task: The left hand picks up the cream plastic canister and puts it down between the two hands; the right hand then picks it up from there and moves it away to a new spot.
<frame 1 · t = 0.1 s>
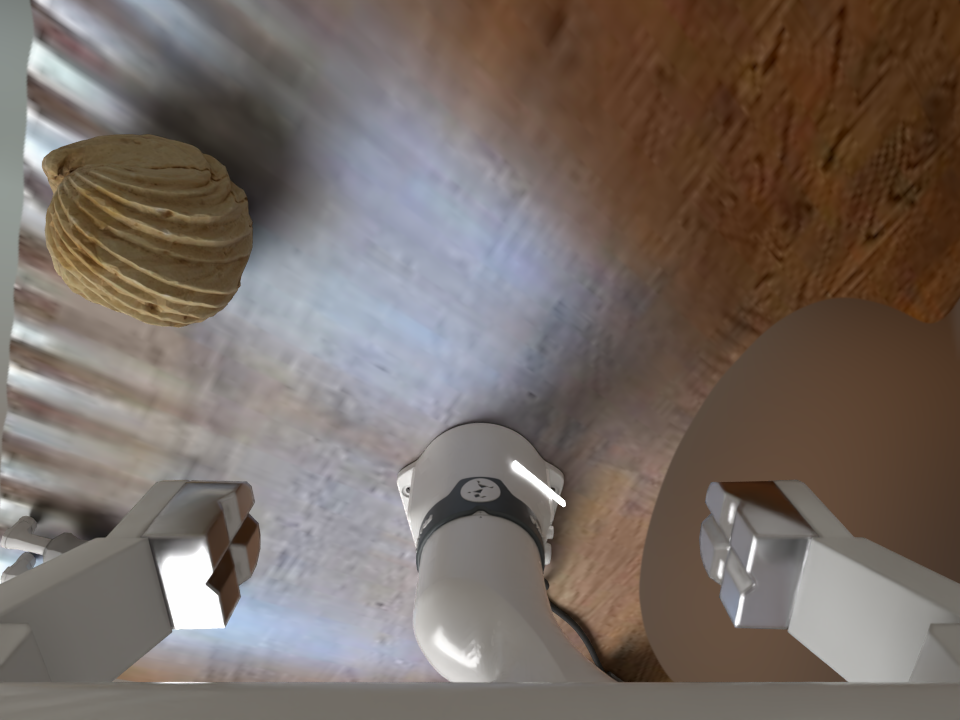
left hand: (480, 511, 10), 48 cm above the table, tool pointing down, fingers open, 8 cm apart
figurine: (134, 561, 71), on the table
fossil: (186, 218, 56), on the table
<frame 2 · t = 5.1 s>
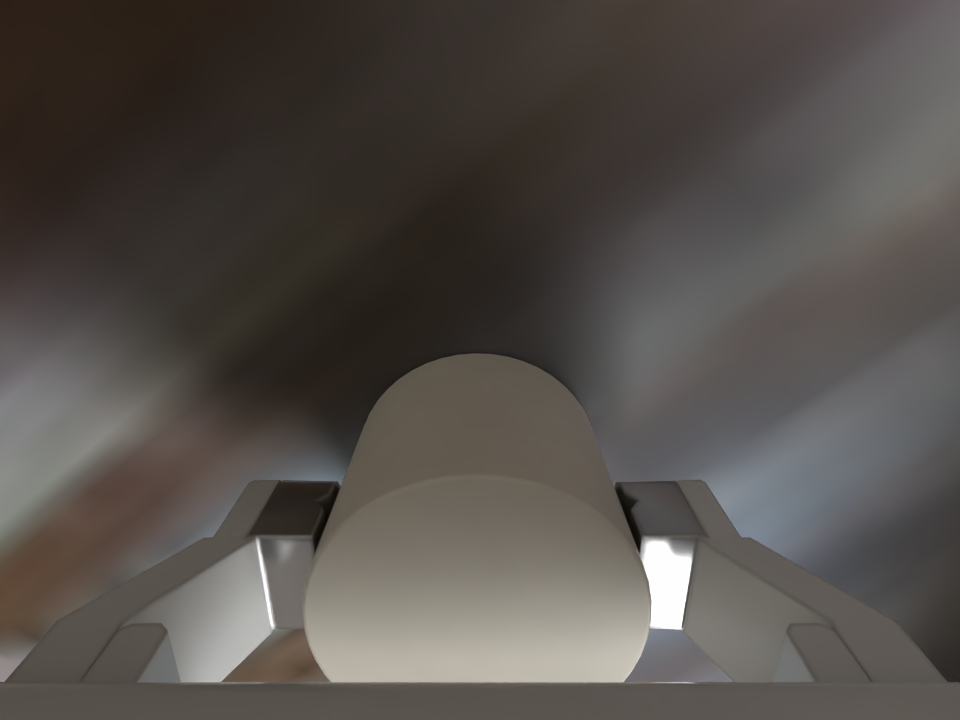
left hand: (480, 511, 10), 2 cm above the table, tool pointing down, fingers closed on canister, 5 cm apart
canister: (477, 461, 12), on the table, touching left hand
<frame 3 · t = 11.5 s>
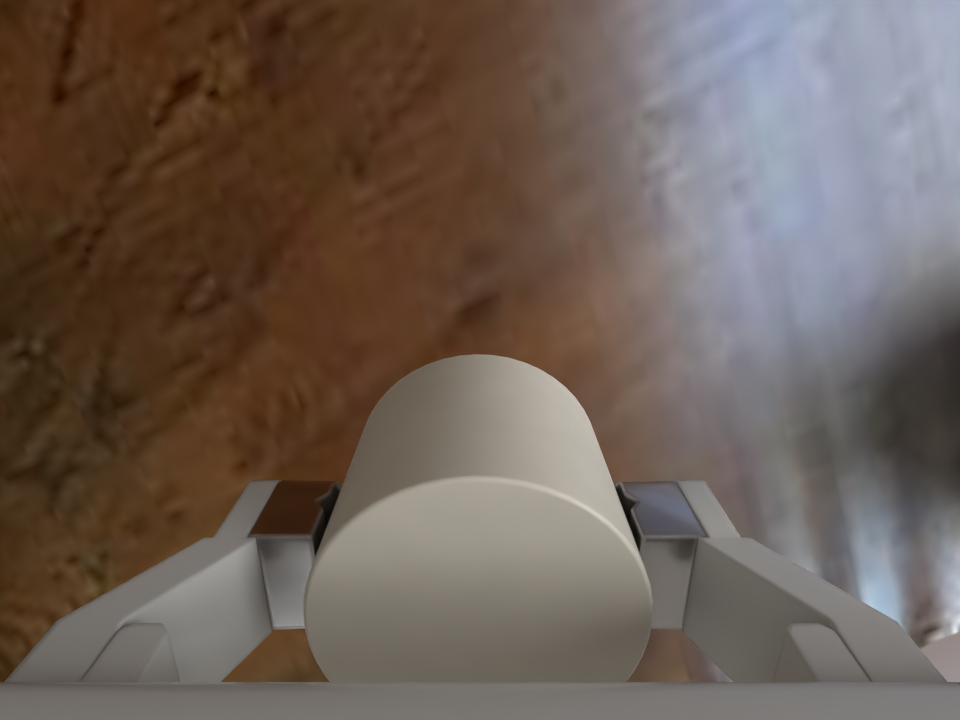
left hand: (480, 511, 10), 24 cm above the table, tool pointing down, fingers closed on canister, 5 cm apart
canister: (478, 463, 12), point 22 cm above the table, touching left hand
when the left hand's fingers open (3 cm above the table, at t = 18.1 s): canister drops 1 cm, on the table.
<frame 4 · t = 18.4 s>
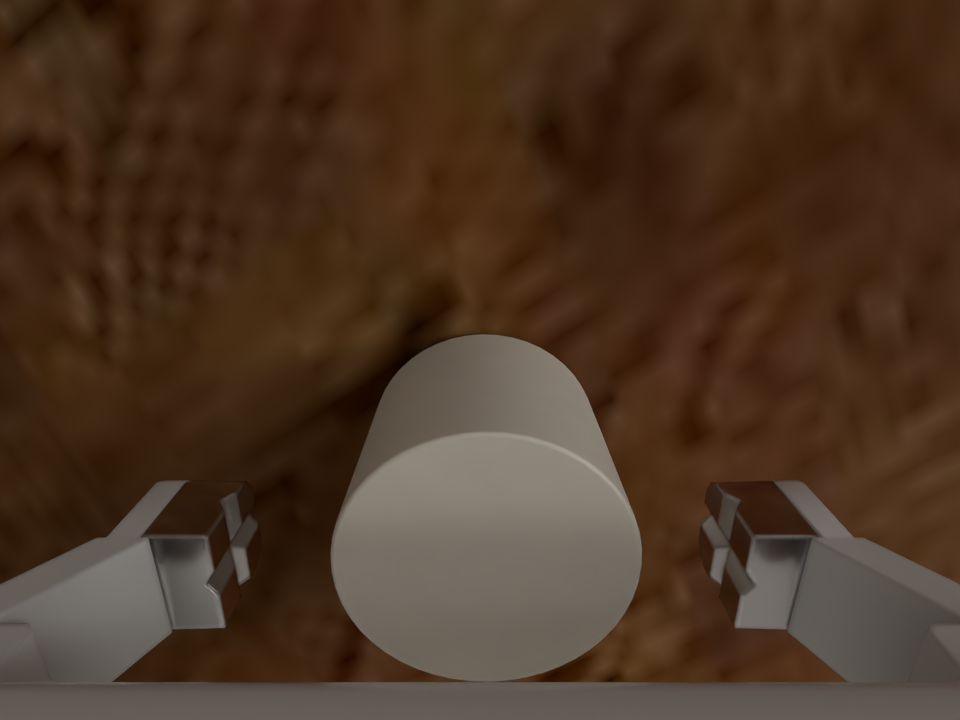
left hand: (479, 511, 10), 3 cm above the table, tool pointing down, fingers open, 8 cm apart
canister: (484, 436, 13), on the table
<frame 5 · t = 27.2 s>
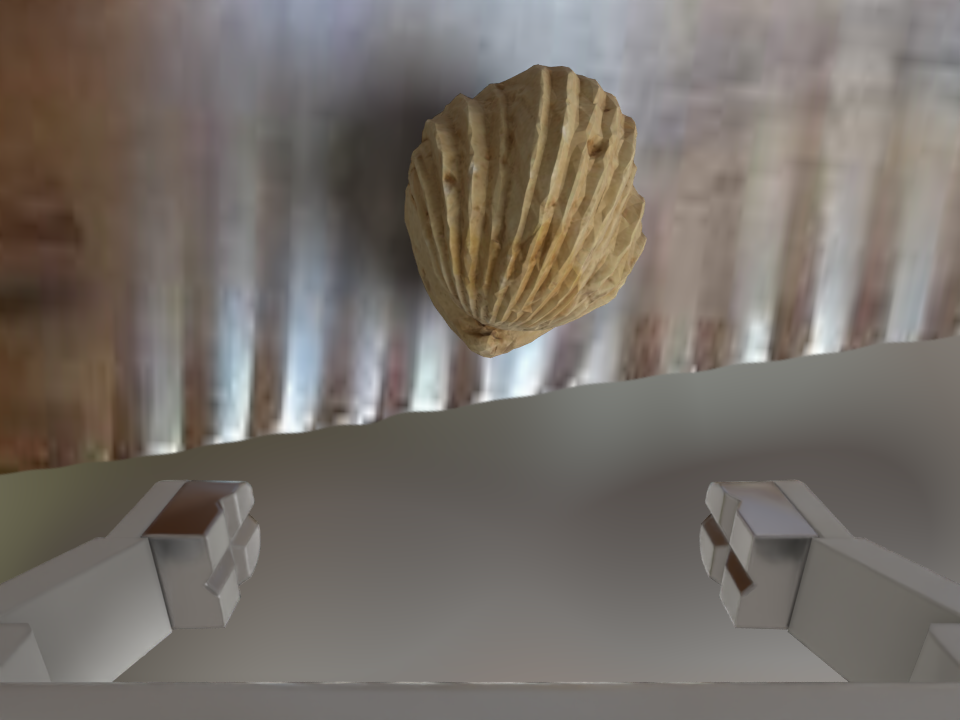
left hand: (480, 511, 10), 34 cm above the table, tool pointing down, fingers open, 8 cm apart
fossil: (513, 207, 42), on the table
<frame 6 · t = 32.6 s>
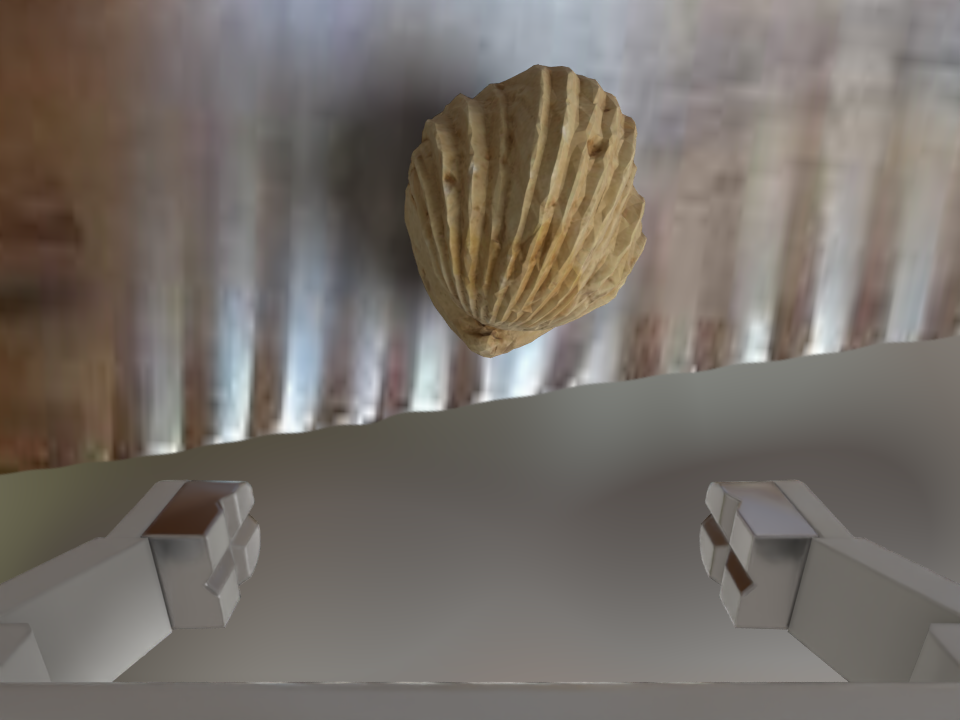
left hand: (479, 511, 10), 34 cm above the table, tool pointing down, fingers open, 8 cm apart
fossil: (513, 207, 42), on the table
when the right hand's fingers open (1 cm above the table, at t = 38.0 s): canister stays where it is, on the table.
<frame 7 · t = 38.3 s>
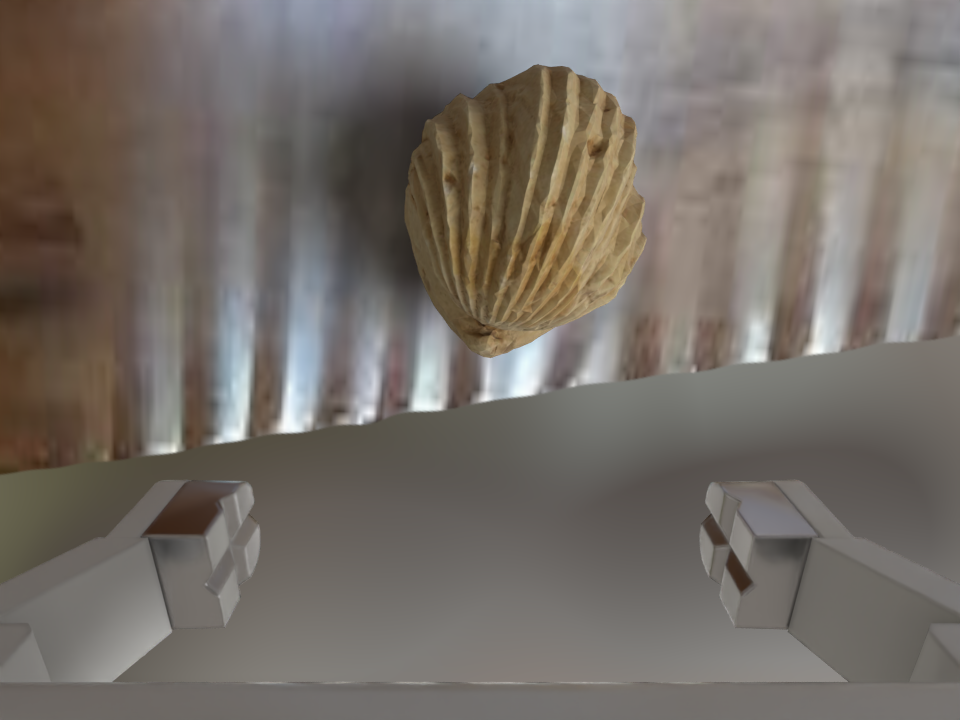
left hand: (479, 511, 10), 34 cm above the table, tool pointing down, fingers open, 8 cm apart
fossil: (513, 207, 42), on the table
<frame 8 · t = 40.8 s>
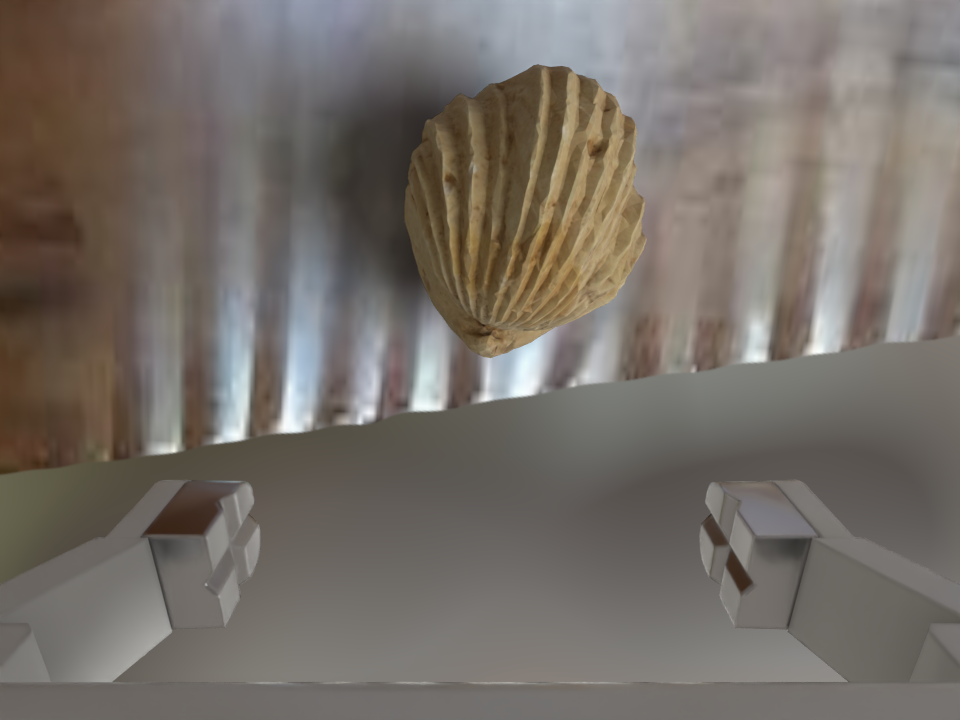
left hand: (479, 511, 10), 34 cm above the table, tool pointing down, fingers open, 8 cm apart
fossil: (513, 207, 42), on the table
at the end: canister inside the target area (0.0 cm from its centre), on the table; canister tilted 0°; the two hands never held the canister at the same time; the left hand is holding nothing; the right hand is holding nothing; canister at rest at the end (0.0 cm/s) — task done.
